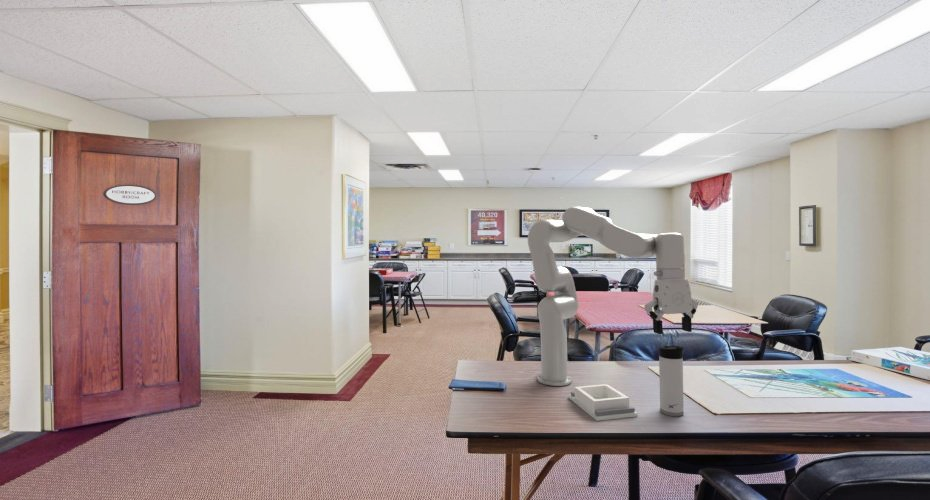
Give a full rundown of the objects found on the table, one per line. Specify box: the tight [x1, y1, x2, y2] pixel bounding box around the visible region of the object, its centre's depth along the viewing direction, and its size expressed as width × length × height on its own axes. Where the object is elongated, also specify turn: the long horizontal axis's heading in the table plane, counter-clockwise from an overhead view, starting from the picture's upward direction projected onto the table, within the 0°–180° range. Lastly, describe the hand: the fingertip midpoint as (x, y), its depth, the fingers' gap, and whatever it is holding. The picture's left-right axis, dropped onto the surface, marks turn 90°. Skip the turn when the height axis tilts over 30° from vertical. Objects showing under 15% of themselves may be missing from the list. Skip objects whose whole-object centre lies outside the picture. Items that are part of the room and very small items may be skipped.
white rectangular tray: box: [568, 383, 639, 422], centre depth 125 cm, size 18×13×4 cm
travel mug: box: [658, 345, 685, 417], centre depth 120 cm, size 6×7×20 cm
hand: (672, 332), depth 119 cm, fingers open, 9 cm apart
